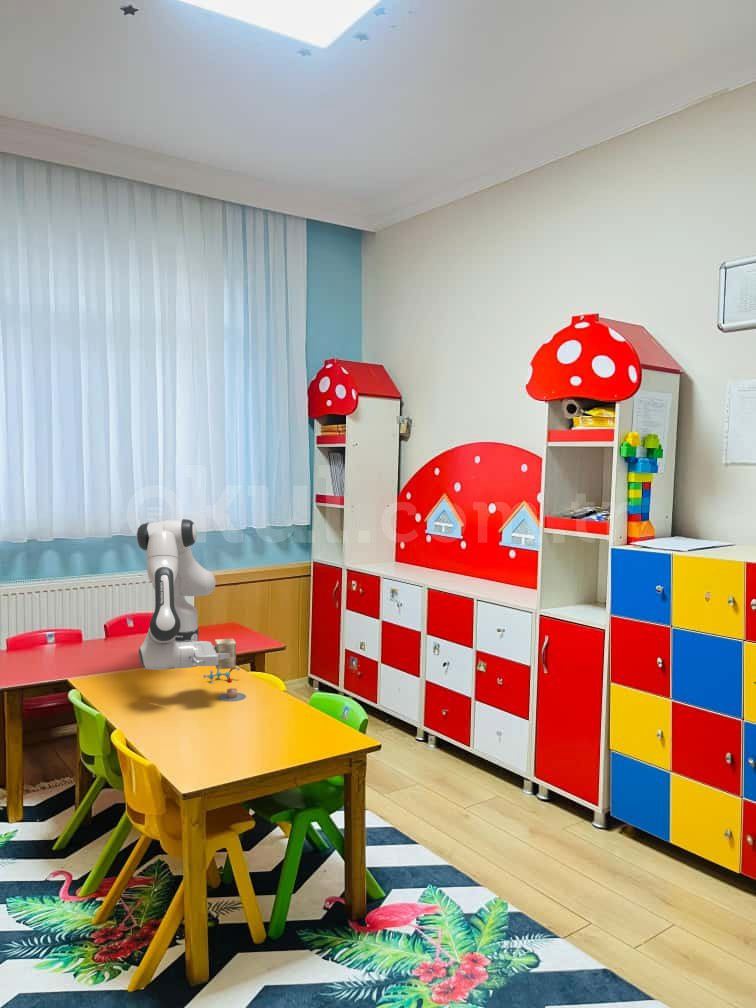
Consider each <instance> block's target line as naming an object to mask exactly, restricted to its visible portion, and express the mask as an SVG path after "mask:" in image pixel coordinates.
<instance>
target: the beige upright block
mask: <svg viewBox="0 0 756 1008" xmlns="http://www.w3.org/2000/svg"><path fill="white" fill-rule="evenodd" d="M214 646H215V651H216V653H220V654H221V653H224V652H229V653H230V658H226V659H222V660H218V665H216V666H215V668H216V670H217V669H219V670H230V669H231V668H236V667H237V643H236V641H235V639H234V638H220V639H214Z"/></svg>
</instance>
